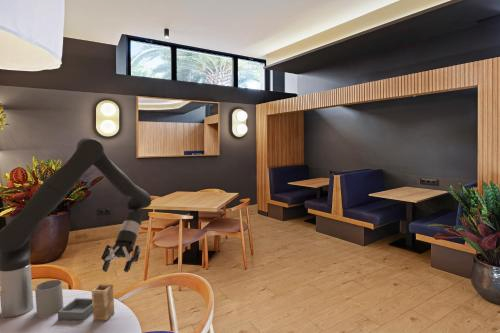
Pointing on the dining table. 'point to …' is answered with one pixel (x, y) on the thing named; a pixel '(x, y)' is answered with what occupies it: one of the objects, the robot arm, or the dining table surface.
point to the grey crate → (76, 310)
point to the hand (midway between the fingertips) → (115, 271)
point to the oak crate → (103, 302)
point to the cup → (49, 297)
